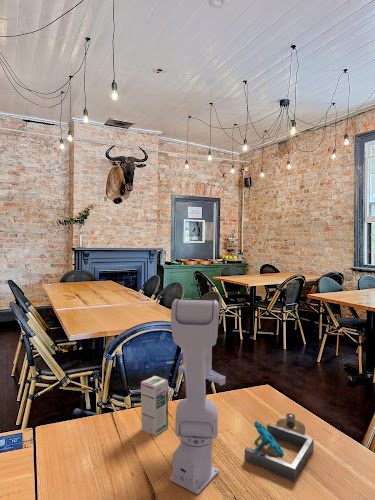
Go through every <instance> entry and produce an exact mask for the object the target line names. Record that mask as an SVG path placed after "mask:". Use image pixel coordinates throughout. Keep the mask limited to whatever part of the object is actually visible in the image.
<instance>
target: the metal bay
mask: <svg viewBox="0 0 375 500" xmlns="http://www.w3.org/2000/svg"><path fill="white" fill-rule="evenodd" d="M266 429H267V431H268V432H269V434H271V435H272V436H273V437H274V439H275V440H276V439H277V440H279V441H282V442H283V443H287V444H290V445H293V446H295V447H299V448H301V449H300V450H299V452H298V453H297V455H296V456H295V458H294V460H293V461H292V462H291V463H288V462H287V461H283V460H281V459H278V458H276V457H273V456H270V455H268V454H267V453H263V452H260V451H259V452H258V451H256V450H255V449H254V448H250V447H247V446H246V447H245V449H244V462H246V463H249V464H250V465H253V466H256V467H258V468H260V469H263V470H265V471H267V472H270V473H272V474H275V475H278V476H279V477H282V478H285V479H287V480H289V481H292V482H294V483H295V482H296V480H297V479H298V477H299V475H300V474H301V471H302V470H303V469H304V466H305V465H306V463H307V461H308V459H309V458H310V456H311V454H313V451H314V448H315V447H314V444H315V443H314V440H315V438H314V437H311V436H308V435H306V434H305V435H303V434H300V433H297V432H294V431H291V430H288V429H285V428H282V427H279V426H276V425H275V424H272V423H269V422H268V423H267V424H266Z"/></svg>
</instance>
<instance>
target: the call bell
mask: <svg viewBox="0 0 375 500" xmlns="http://www.w3.org/2000/svg"><path fill="white" fill-rule="evenodd" d="M285 416H286V418H280V419H278V420H277V421H276V423H275V424H276V426H279V427H282V428H285V429H288V430H291V431H294V432H297V433H300V434H303V435H306V426H305V425H304V424H303V423H302V422H301V421H300V420H297V419H296V415H295V414H293V413H290V412H289V413H286V415H285Z"/></svg>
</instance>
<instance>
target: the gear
mask: <svg viewBox="0 0 375 500" xmlns="http://www.w3.org/2000/svg"><path fill="white" fill-rule="evenodd" d="M253 424H254V425H253V427H254V428H255V429H256V431H257V433H258V434H259V436H257V438H255V440H254V443H255V444H257V443H258V442H259V441H260V440H261V442H260V443H259V445H258V446H257V447H256V448H255V449H254V450H256V451H258V452H260V451H261V450H262V449H263V448H264V447H267V446H268V447H269V448H270V449H271V450H272V451H273V450H274V452H275V454H276V455H277V456H278V457H281V458H282V457H284V456H285V454H284V450H283V449H282V448H281V445H280V444H279V443H278V442H277V441H276V438H274V437H273V436H272V435H271V434H269V432H268V431H267V427H266V426H265V425H262V423H259V422H258V421H257V420H256V421H254V423H253Z"/></svg>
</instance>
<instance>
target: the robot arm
mask: <svg viewBox="0 0 375 500" xmlns="http://www.w3.org/2000/svg"><path fill="white" fill-rule="evenodd" d="M219 305H220V304H219V302H218V300H217V299H213V300H209V299H208V300H207V299H206V300H205V299H204V300H201V299H198V300H197V299H179V298H175V299H174V300H173V301H172V303H171V310H170V324H171V325H170V327H171V334H172V335H171V336H172V338H173V344H175V345H177V346H178V347H179V348H180V349H181V352H182V357H183V361H184V362H183V363H184V364H181V365H179V366H178V374H182V375H183V374H184V378H185V395H186V397H185V398H184V399H181V400H180V401H179V402H178V403H177V405H176V411H175V422H174V423H175V424H174V425H175V426H174V428H175V429H174V430H175V431H174V432H175V434H176V437H179V439H180V440H179V441H180V443H179V445H178V446H177V447H176V449H175V450H174V451H173V454H172V475H171V476H169V480H170V481H171V482H173V483H174V484H176V485H179V486H180V487H183V488H184V489H186V490H188V491H190V492H191V493H193V494H195V495H198V494H200V493H201V491H202V490H204V488H205V487H206V486H207V485H208V484H209V483H210V482H211V481H212V480H213V479H214V478H215V477H216V476H217V475H218V473H219V472H220V469H219V468H217V467H214V466H213V465H212V463H213V440H216V439H217V437H218V431H219V430H218V429H219V428H218V425H219V423H218V422H219V421H218V420H219V419H218V418H219V411H218V407H217V404H216V403H215V402H213V401H211V400H210V399H208V398H207V395H208V391H209V389H210V387H211V385H212V383H217V384H218V385H219V386H223V385H225V384H226V375H222V374H221V373H218V372H217V371H215V370H212V369H213V366H212V361H213V360H212V359H213V357H212V356H213V351H212V349H213V347H214V346H215V345H216V344H217V339H219V337H218V333H219V330H218V329H219V318H220V317H219V314H220V313H219V311H220V310H219V309H220V307H219Z"/></svg>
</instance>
